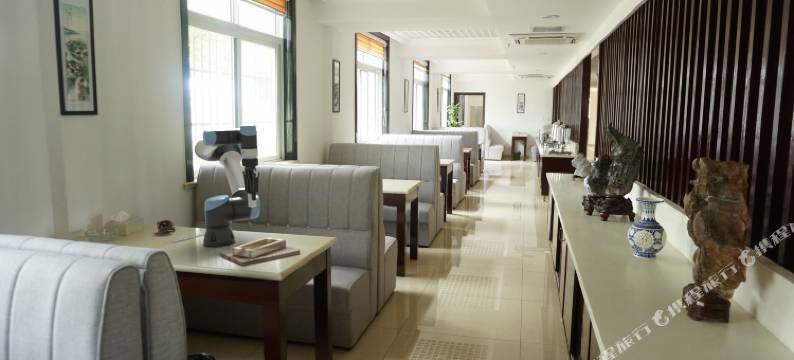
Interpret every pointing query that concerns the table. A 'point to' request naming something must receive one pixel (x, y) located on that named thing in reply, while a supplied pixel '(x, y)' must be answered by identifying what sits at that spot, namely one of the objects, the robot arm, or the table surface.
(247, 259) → the display board
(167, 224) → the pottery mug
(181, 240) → the plaque
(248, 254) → the wooden tray
